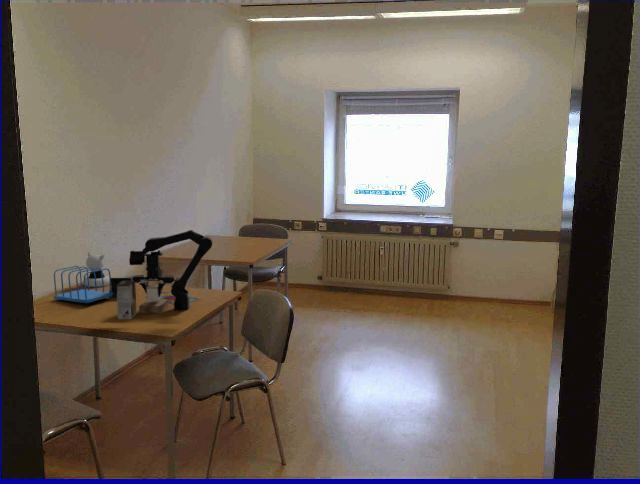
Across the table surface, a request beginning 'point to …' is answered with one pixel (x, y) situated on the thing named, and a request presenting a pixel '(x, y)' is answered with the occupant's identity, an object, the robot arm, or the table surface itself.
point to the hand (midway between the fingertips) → (154, 296)
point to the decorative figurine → (95, 262)
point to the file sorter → (81, 294)
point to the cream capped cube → (152, 293)
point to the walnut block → (153, 306)
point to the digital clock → (130, 277)
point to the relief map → (171, 298)
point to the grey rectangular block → (114, 285)
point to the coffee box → (126, 299)
